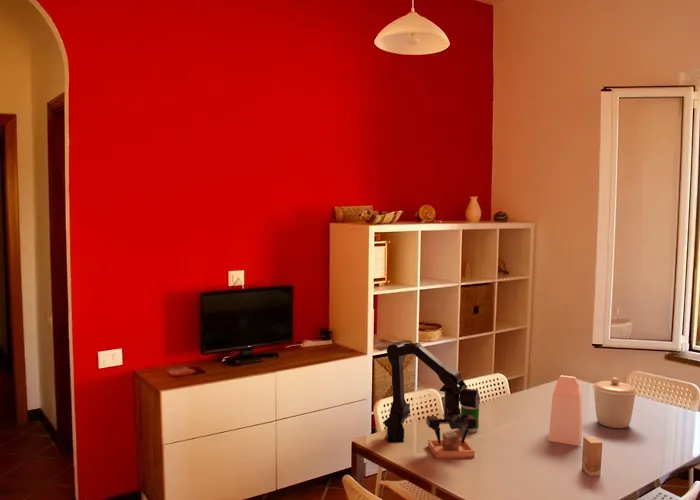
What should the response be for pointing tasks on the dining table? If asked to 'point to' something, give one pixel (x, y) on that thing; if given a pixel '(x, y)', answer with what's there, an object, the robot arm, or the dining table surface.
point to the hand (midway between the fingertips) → (450, 443)
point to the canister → (614, 403)
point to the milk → (566, 412)
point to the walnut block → (450, 442)
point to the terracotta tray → (439, 452)
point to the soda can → (474, 413)
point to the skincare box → (592, 456)
